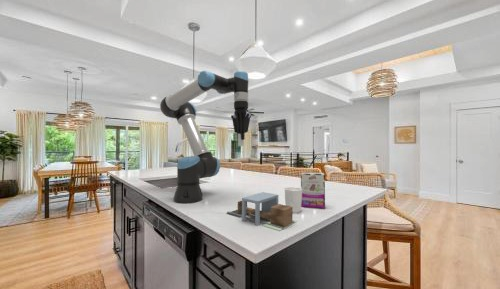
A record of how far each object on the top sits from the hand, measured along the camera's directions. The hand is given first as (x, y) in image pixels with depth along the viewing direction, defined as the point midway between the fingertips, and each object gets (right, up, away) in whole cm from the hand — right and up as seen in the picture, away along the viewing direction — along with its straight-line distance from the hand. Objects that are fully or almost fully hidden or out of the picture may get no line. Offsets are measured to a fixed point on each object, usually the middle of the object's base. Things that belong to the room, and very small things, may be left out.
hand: (240, 145), depth 115 cm
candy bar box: (+35, -30, -9) cm, 47 cm away
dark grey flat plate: (+1, -29, -19) cm, 35 cm away
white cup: (+25, -30, -16) cm, 42 cm away
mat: (+16, -29, -32) cm, 47 cm away
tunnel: (+9, -29, -26) cm, 40 cm away
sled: (+10, -29, -27) cm, 41 cm away
